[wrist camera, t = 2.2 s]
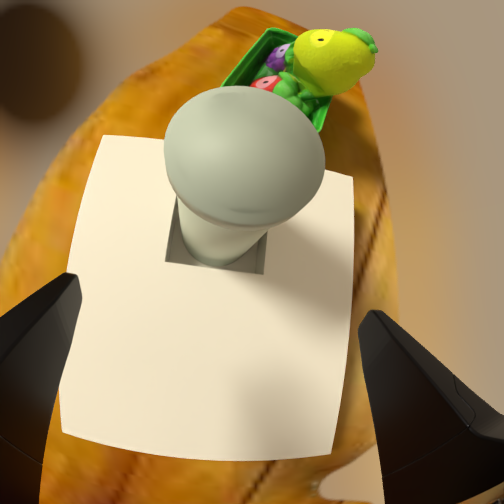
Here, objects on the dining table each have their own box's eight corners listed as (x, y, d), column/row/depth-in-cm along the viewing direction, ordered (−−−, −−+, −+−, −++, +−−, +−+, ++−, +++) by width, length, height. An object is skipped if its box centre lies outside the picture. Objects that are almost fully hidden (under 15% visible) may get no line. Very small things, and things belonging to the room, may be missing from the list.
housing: (311, 436, 19) (330, 453, 15) (79, 415, 16) (62, 432, 12) (331, 194, 23) (352, 177, 20) (113, 158, 20) (103, 134, 16)
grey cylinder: (210, 287, 19) (236, 261, 8) (161, 224, 19) (133, 130, 8) (271, 238, 20) (353, 167, 9) (223, 180, 20) (256, 69, 10)
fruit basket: (257, 59, 25) (289, -26, 14) (334, 95, 26) (388, 21, 15) (209, 132, 22) (229, 21, 11) (306, 176, 23) (383, 93, 12)
